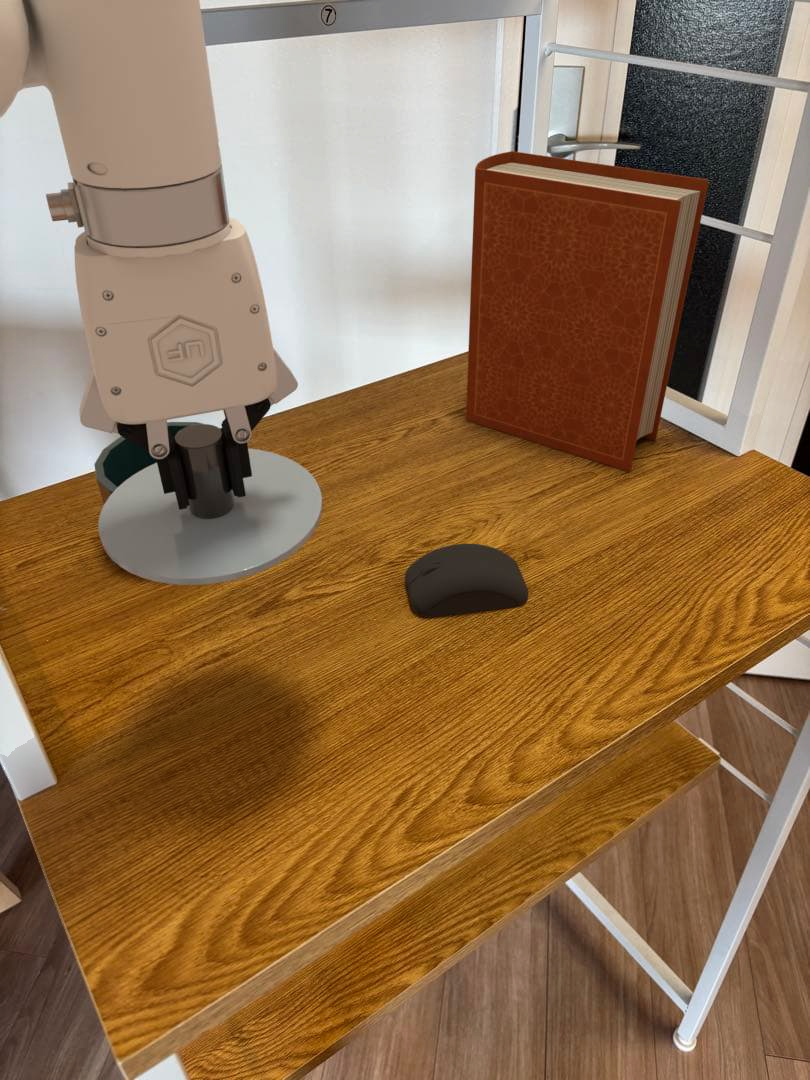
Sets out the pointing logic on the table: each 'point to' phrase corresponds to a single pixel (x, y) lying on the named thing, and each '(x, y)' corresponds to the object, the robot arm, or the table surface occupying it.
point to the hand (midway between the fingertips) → (209, 489)
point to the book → (577, 299)
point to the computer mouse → (464, 581)
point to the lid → (210, 515)
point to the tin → (126, 461)
